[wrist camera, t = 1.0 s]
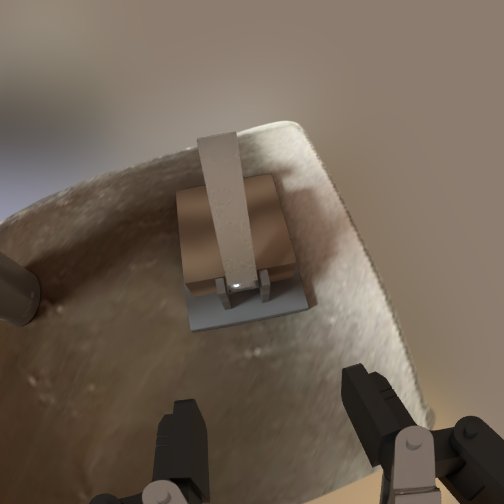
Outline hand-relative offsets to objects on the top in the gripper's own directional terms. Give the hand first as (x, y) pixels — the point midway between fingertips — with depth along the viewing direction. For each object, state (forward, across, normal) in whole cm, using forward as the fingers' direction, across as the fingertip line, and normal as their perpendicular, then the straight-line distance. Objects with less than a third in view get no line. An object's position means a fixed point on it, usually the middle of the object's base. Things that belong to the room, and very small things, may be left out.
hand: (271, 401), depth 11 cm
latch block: (+30, 0, +4) cm, 30 cm away
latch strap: (+18, 0, -3) cm, 19 cm away
